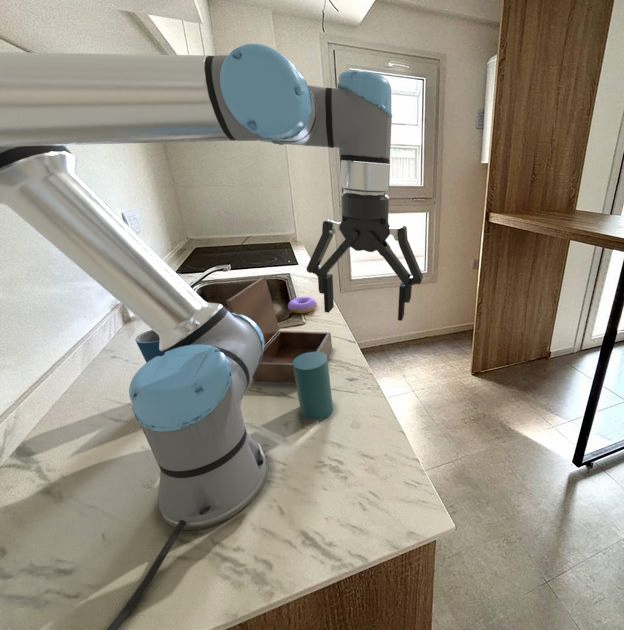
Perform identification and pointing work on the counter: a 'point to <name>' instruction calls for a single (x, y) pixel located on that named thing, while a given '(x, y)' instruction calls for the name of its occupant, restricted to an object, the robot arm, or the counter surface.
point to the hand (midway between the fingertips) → (364, 313)
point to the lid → (256, 307)
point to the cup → (149, 345)
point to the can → (313, 385)
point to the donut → (302, 305)
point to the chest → (289, 354)
